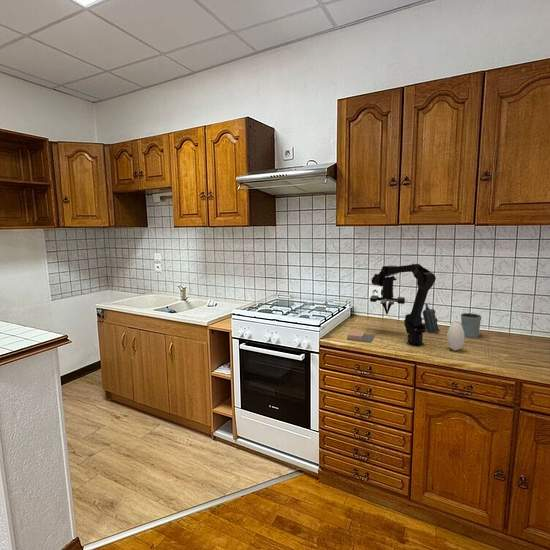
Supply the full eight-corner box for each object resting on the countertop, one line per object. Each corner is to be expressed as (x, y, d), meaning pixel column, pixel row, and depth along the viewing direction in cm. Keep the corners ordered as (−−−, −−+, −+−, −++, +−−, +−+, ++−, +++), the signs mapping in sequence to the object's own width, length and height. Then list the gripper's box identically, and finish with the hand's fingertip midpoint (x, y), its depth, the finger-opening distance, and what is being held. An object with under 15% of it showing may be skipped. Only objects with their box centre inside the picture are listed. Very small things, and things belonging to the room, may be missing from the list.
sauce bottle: (462, 353, 170) (464, 317, 168) (445, 350, 175) (446, 315, 172) (464, 349, 177) (466, 314, 174) (447, 346, 181) (449, 312, 179)
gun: (408, 305, 213) (433, 302, 204) (414, 332, 212) (440, 330, 203) (406, 306, 211) (432, 303, 202) (413, 333, 210) (439, 331, 201)
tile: (365, 331, 200) (351, 329, 203) (362, 336, 191) (347, 334, 194) (365, 334, 200) (351, 333, 203) (362, 339, 191) (347, 338, 194)
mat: (374, 336, 199) (374, 335, 199) (371, 342, 188) (371, 341, 188) (351, 333, 204) (351, 332, 204) (347, 339, 193) (347, 338, 193)
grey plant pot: (478, 334, 200) (479, 313, 199) (481, 339, 191) (483, 318, 190) (458, 332, 204) (459, 312, 203) (460, 337, 195) (462, 316, 193)
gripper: (406, 286, 202) (405, 312, 205) (373, 284, 210) (372, 309, 212) (404, 289, 192) (403, 316, 194) (370, 287, 200) (369, 314, 202)
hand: (387, 314), depth 201 cm, fingers closed
